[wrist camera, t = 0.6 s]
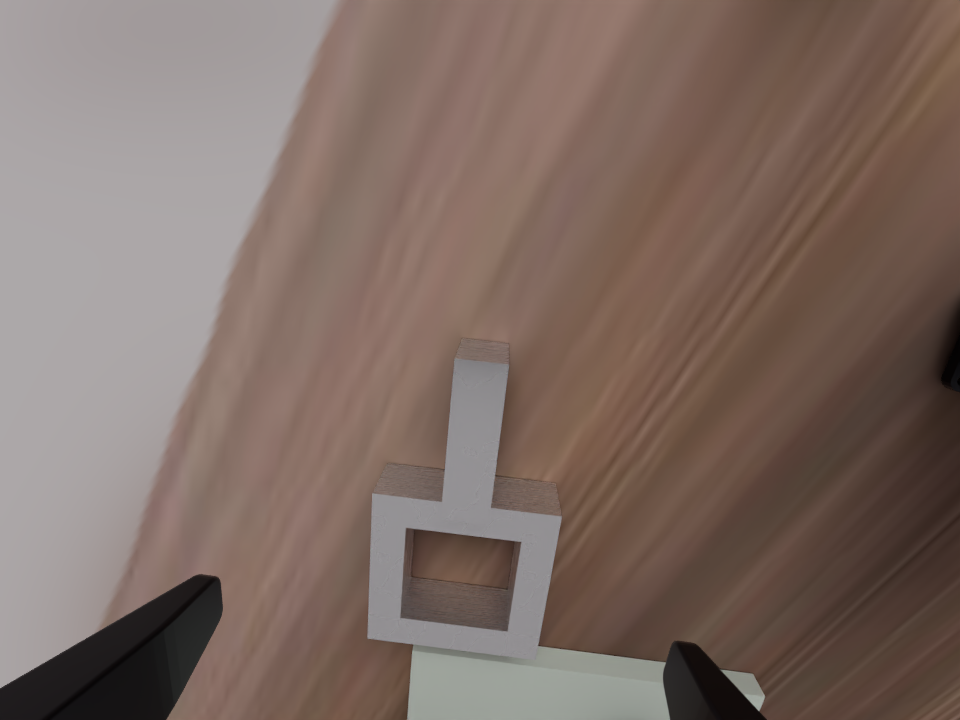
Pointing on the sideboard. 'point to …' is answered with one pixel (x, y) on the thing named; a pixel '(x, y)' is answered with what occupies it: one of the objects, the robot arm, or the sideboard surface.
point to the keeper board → (543, 686)
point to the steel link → (464, 528)
